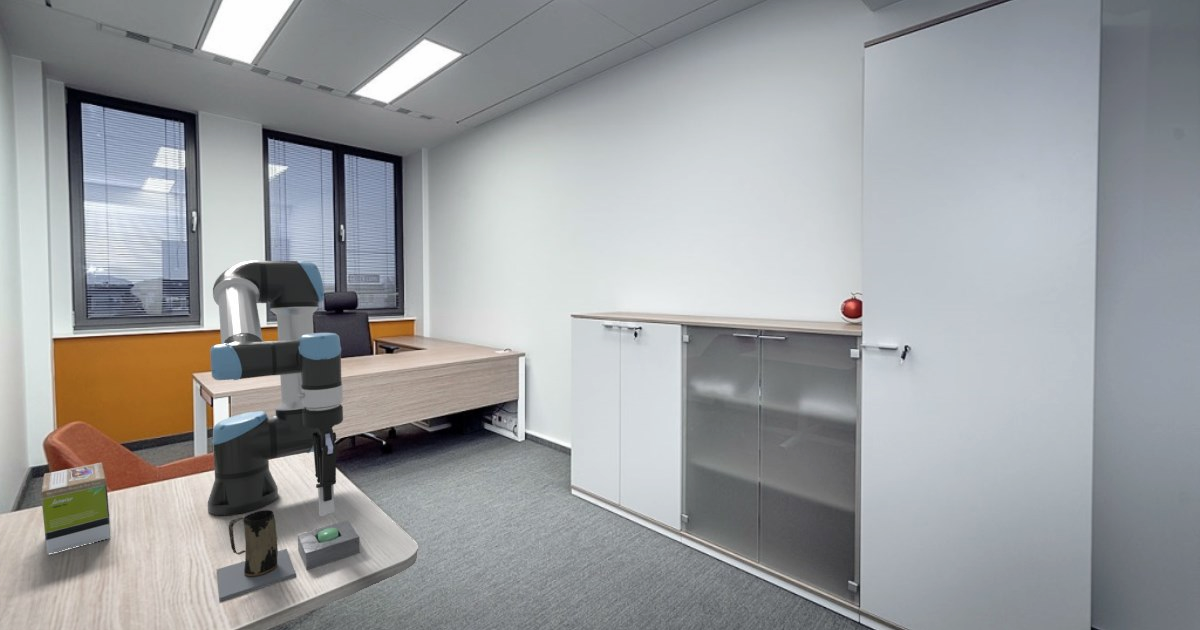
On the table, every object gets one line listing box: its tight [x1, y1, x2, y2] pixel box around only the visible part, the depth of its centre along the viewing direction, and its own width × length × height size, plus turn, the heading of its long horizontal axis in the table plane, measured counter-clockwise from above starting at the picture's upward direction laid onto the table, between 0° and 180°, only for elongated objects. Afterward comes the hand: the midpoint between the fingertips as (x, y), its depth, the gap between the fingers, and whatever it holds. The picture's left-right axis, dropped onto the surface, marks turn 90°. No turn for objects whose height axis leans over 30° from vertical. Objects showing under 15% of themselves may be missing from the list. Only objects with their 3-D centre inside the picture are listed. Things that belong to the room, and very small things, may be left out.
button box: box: [297, 520, 361, 571], centre depth 106 cm, size 10×10×4 cm
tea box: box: [40, 462, 111, 555], centre depth 113 cm, size 15×10×15 cm, turn 47°
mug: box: [228, 509, 279, 577], centre depth 97 cm, size 8×6×12 cm
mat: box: [216, 548, 297, 602], centre depth 98 cm, size 12×12×1 cm
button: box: [318, 528, 338, 543], centre depth 106 cm, size 4×4×3 cm
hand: (326, 513), depth 106 cm, fingers closed
